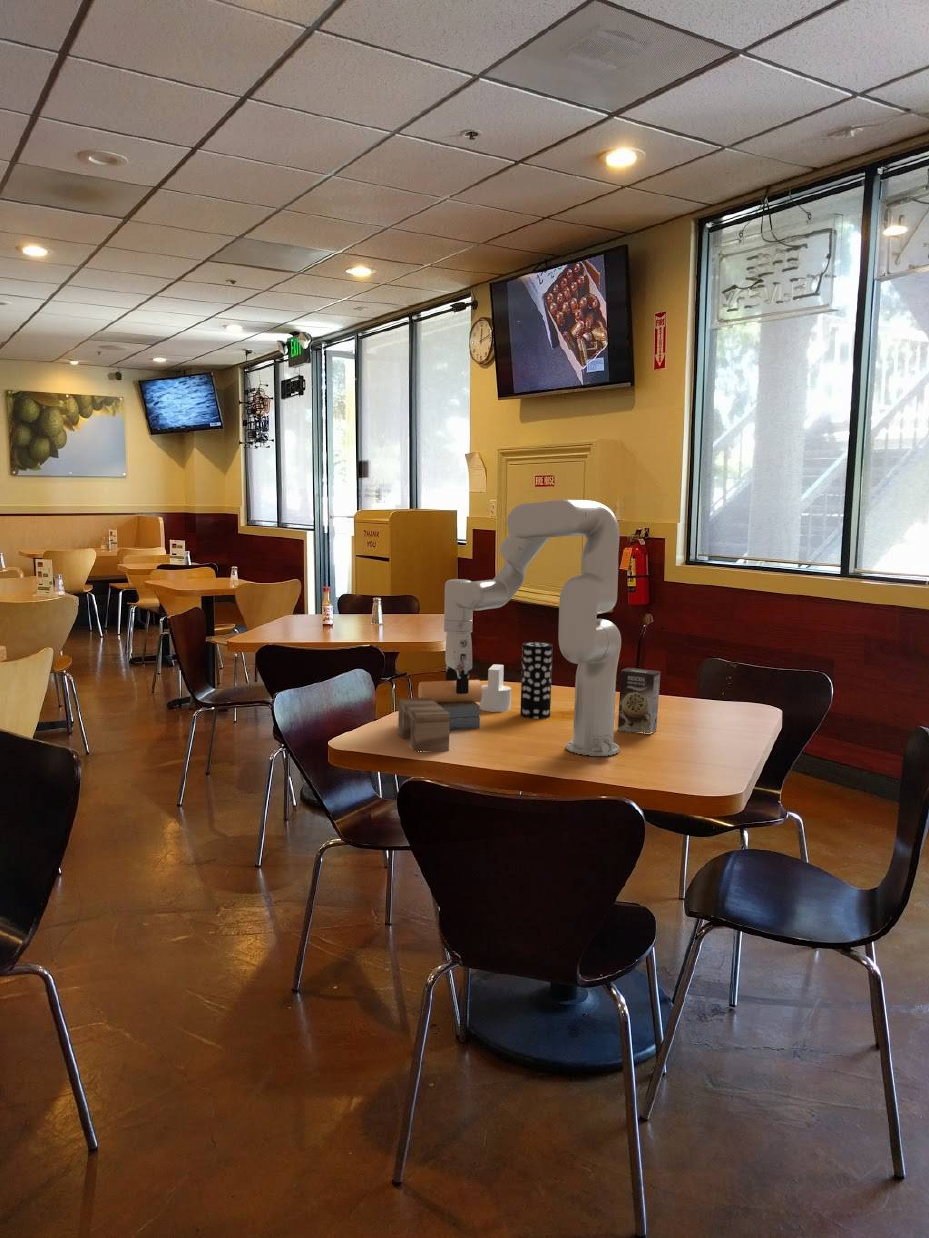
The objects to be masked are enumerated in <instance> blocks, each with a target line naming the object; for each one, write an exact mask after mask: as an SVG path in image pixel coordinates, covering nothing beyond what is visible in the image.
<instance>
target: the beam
mask: <svg viewBox="0 0 929 1238" xmlns="http://www.w3.org/2000/svg"><path fill="white" fill-rule="evenodd" d="M397 722H398V727H397V728H398V730H397V731H398V733H397V734H398V736H400V737H401V738H402V740H409V742H410V743H409V745H410V746H411V747H412V748H411V747H410V748H411V749H412V750H413V751H414V752H415V751H416V752H418V751H419V752H418V753H424V752H423V751H435V752H447V751H450V730H449V723H450V713H449V712H447V711H446V710H445V709H443V708H442V707H441V706H440V705H438V704H437V703H436V702H435V701H433V700H432V699H431V698H418V697H411V698H398V721H397ZM420 751H422V752H420ZM416 752H415V753H416Z"/></svg>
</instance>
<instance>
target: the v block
mask: <svg viewBox="0 0 929 1238" xmlns="http://www.w3.org/2000/svg"><path fill="white" fill-rule="evenodd" d="M437 704H438V705H440V706H441V707H442V708H443V709H445V710H446V711H447V712H449V713H450V723H449V731H456V730H457V731H458V730H476V729H480V727H481V726H480V725H481V724H480V723H481V717H480V710H481V709H480V705H479V704H478V702H474V701H463V702H441V703H437Z"/></svg>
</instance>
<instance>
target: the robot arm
mask: <svg viewBox="0 0 929 1238" xmlns="http://www.w3.org/2000/svg"><path fill="white" fill-rule="evenodd" d="M506 520H507V521H506V528H507V530H508V532H509V534H508V535H507V536H506V538H505V539H504V540H502V542H501V544H500V546H499V553H500V556H501V557H502V558H503V560H504V561H505V562H504V564H503V566H502V568H501V569H500V570H499V572H498V573H496V575H495V576H494V577H493V579H485V580H476V581H472V580H469V579H464V578H463V579H462V578H461V579H459V578H453V579H448V580H447V581H446V582H445V583H444V611H443V612H444V615H443V632H444V633H446V637H445V649H444V650H445V655H444V656H445V657H444V660H445V661H444V662H445V665H446V666H445V681H456V693H457V694H467V693H468V687H469V680H470V671H471V670H472V669H473V645H472V643H473V642H472V634H471V633H473V614H474V612H473V611H483V610H490V609H491V610H492V609H498V608H502V607H503V606H505V605H506V604H507V603H508V602H509V601H511V599H513V597H514V595H516V593H517V592H518V591H519V590H520V588H521V586H523V584H524V581H525V578H526V574H527V569H528V566H529V564H531V562H532V560H533V559H534V558H535V557H536V556H537V554H538V553H539V552H540V551H541V549H542V548H543V547H544V546H545V544H546V543H547V542H548V540H550V538H558V537H560V538H561V537H580V536H581V537H582V536H583V537H584V538H585V539H586V541H585V544H584V546H583V549H582V554H581V573H580V574H579V575H574V576H572V577H570V578H569V579H567V580H566V582H565V583H564V585H563V586H562V589H561V591H560V595H559V600H558V604H559V606H558V607H559V608H558V646H559V650H560V652H561V654H562V657H564V658H565V660H566V661H568V662H570V663H572V664H574V665H575V664H576V665H577V668H576V673H575V684H574V685H575V687H574V707H573V708H574V713H573V732H572V733H573V734H572V735H573V738H572V739H571V740H569V741H567V742H566V750H568V751H569V752H571V753H573V752H574V753H573V754H576V753H577V754H576V755H580V754H582V755H581V756H586V755H589V757H608V755H609V756H614V755H616V753H617V754H618V753H619V752H620V746H619V744H617V743H616V742H614V731H615V730H614V729H615V709H616V708H615V707H616V705H615V704H616V687H617V683H616V682H617V672H618V665H619V664H618V663H619V660H620V659H619V658H620V653H621V648H622V635H621V631H620V630H619V628H618V627H617V625H616V624H614V623H613V622H612V621H610V620H607V619H604V618H597V616H598V615H599V614H604V613H608V612H610V611H611V610H612V609H614V607H615V606H616V604H617V601H618V586H619V585H618V584H619V583H618V582H619V580H618V579H619V550H620V549H619V548H620V526H619V525H620V524H619V521H618V519H617V517H616V515H615V513H614V512H613V511H612V510H611V509H610V508H609V507H607V506H606V505H605V504H602V503H601V502H597V501H596V500H595V501H594V500H587V499H555V500H547V501H545V500H544V501H539V502H538V501H537V502H526V503H525V502H524V503H520V504H518V505H516V506H514V507H513V508H512V509H511V510H510V511H509V513H508V516H507V518H506ZM613 754H614V755H613Z"/></svg>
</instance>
